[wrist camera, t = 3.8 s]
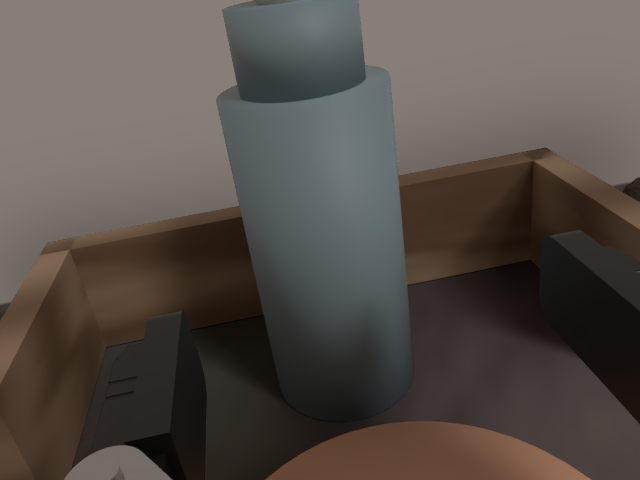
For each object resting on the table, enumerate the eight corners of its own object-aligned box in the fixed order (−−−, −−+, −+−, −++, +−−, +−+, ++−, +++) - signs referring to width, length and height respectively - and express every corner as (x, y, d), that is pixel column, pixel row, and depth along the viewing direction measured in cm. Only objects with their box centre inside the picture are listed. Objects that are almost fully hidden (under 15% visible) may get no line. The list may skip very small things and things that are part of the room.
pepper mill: (426, 338, 23) (398, -87, 16) (394, 433, 19) (338, -84, 12) (308, 324, 25) (239, -61, 18) (256, 408, 21) (141, -50, 14)
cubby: (85, 336, 27) (47, 242, 25) (541, 243, 29) (545, 147, 26) (17, 529, 18) (-54, 408, 16) (691, 376, 19) (717, 247, 17)
